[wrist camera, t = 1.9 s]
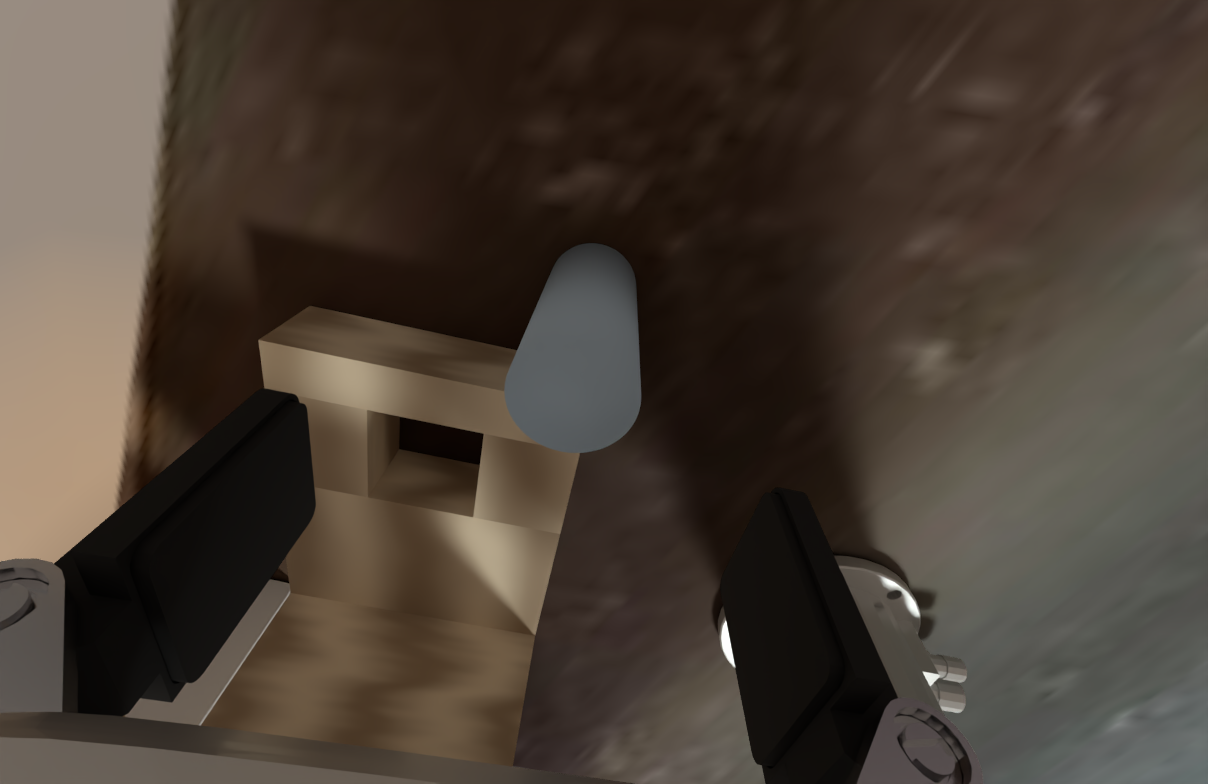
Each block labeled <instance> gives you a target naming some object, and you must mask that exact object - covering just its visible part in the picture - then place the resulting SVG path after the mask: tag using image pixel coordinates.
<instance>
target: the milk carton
mask: <svg viewBox="0 0 1208 784" xmlns="http://www.w3.org/2000/svg"><path fill="white" fill-rule="evenodd" d="M289 594H290V585H289V583H285V582H281V581H276V580H271V579H270V580H269V581H268V583H267V584H266V585H265V587H264V588H263V590H262V591H261V592H260V594H259V595H258V597H257V598H256V600H255V601H254V602H253V604H252V605H251V607H250V608H249V610H248V611H247V612H246V614H245V615H244V617H243V618H242V619H241V621H240V622H239V624H238V625H237V627H236V628H235V629H234V631H233V632H232V634H231V635H230V636H229V638H228V639H227V641H226V642H225V644H224V645H223V646H222V648H221V649H220V651H219V652H218V654H217V655H216V656H215V658H214V659H213V661H212V662H211V663H210V665H209V666H208V668H207V669H206V671H205V672H204V673H203V674H202V676H201V677H200V678H199V679H198V680H197V681H195V682H193V683H186V684H185V686H184V687H183V688H182V690H181V691H180V692H179V694H178V695H177V697H176V698H175V699H174V701H173V702H172V703H171V702H163V701H156V700H149V699H142V698H140V699H139V701H138V702H137V703H136V704H135V706H134V707H133V708H132V710H131V711H130V712H129V713H128V714H126V715H125V717H130V718H139V719H148V720H156V721H165V722H174V723H183V724H192V725H201V724H202V723H203V721H204V720H205V718H206V717H207V715H208V714H209V712H210V711H211V709H212V708H213V706H214V705H215V704H216V702H217V701H218V699H219V698H220V696H221V695H222V693H223V692H224V690H225V689H226V687H227V686H228V684H229V683H230V681H231V680H232V678H233V677H234V676H235V674H236V673H237V671H238V670H239V668H240V667H241V665H242V664H243V662H244V661H245V659H246V658H247V656H248V655H249V653H250V652H251V650H252V649H253V647H254V646H255V645H256V643H257V642H258V640H259V639H260V637H261V636H262V634H263V633H264V631H265V630H266V628H267V627H268V625H269V624H270V622H271V621H272V619H273V618H274V617H275V615H276V614H277V612H278V611H279V609H280V608H281V606H282V605H283V603H284V602H285V600H286V599H287V597H288V596H289Z"/></svg>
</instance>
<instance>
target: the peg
mask: <svg viewBox="0 0 1208 784" xmlns="http://www.w3.org/2000/svg"><path fill="white" fill-rule="evenodd" d="M504 393H505V401H506V405H507V408H508V411H509V413H510V415H511V417H512V419H513V421H514V422H515V423H516V425H517V426H518V427H519V428H520V429H521V430H522V431H523V433H525V434H526V435H527V436H528V437H529V438H531V439H532V440H534V441H535V442H537V443H539V444H541V445H543V446H545V447H548V448H550V449H553V450H557V451H561V452H568V453H586V452H591V451H596V450H599V449H602V448H605V447H607V446H609V445H611V444H613V443H615V442H616V441H618V440H619V439H620V438H622V437H623V436H624V435H625V434H626V433H627V432H628V431H629V429H630V428H631V427H632V426H633V424H634V422H635V420H636V418H637V416H638V413H639V410H640V405H641V379H640V357H639V335H638V313H637V291H636V279H635V274H634V272H633V269H632V267H631V265H630V264H629V262H628V261H627V259H626V258H625V257H624V256H623V255H622V254H620V253H619V252H618V251H616V250H615V249H613V248H611V247H609V246H606V245H603V244H597V243H586V244H581V245H577V246H575V247H573V248H571V249H569V250H567V251H566V252H565V253H563V254H562V255H561V256H560V257H559V259H558V260H557V261H556V263H555V265H554V266H553V268H552V271H551V273H550V275H549V278H548V280H547V282H546V285H545V287H544V289H543V292H542V294H541V296H540V299H539V301H538V303H537V306H536V308H535V310H534V313H533V315H532V317H531V320H530V322H529V324H528V327H527V329H526V331H525V333H524V336H523V338H522V340H521V343H520V345H519V347H518V350H517V352H516V354H515V357H514V359H513V361H512V364H511V366H510V368H509V371H508V373H507V376H506V381H505V389H504Z"/></svg>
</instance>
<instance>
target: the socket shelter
mask: <svg viewBox="0 0 1208 784" xmlns="http://www.w3.org/2000/svg"><path fill="white" fill-rule="evenodd" d="M258 341H259V349H260V357H261V365H262V373H263V380H264V388H266V389H271V390H276V391H281V392H287V393H292V394H295V395H297V397H298V399H299V403H303V404H305V405H306V407H307V412H308V423H309V434H310V445H311V455H312V466H313V477H314V488H315V499H316V508H315V512H314V515H313V517H312V520H311V521H310V523H309V524H308V526H307V527H306V529H305V530H304V531H303V533H302V534H301V536H300V537H299V539H298V540H297V541H296V543H295V544H294V546H293V547H292V549H291V550H290V551H289V553H288V554H287V556H286V561H287V569H288V577H289V585H290V594H289V596H288V597H287V599H286V600H285V602H284V603H283V605H282V606H281V608H280V609H279V611H278V612H277V614H276V615H275V617H274V618H273V619H272V621H271V622H270V624H269V625H268V627H267V628H266V630H265V631H264V633H263V634H262V636H261V637H260V639H259V640H258V642H257V643H256V645H255V646H254V647H253V649H252V650H251V652H250V653H249V655H248V656H247V658H246V659H245V661H244V662H243V664H242V665H241V667H240V668H239V670H238V671H237V673H236V674H235V676H234V677H233V678H232V680H231V681H230V683H229V684H228V686H227V687H226V689H225V690H224V692H223V693H222V695H221V696H220V698H219V699H218V701H217V702H216V704H215V705H214V706H213V708H212V709H211V711H210V712H209V714H208V715H207V717H206V718H205V720H204V721H203V723H202V724H201V726H209V727H218V728H227V729H234V730H242V731H249V732H257V733H265V734H272V735H280V736H288V737H295V738H303V739H310V740H318V741H326V742H333V743H341V744H349V745H356V746H364V747H371V748H379V749H387V750H394V751H401V752H409V753H416V754H423V755H431V756H438V757H445V758H453V759H460V760H468V761H475V762H482V763H490V764H497V765H504V766H511V767H512V766H513V761H514V755H515V749H516V743H517V737H518V732H519V726H520V720H521V714H522V708H523V702H524V697H525V691H526V685H527V679H528V673H529V668H530V662H531V656H532V650H533V644H534V639H535V634H536V630H537V626H538V621H539V617H540V613H541V609H542V605H543V601H544V597H545V593H546V589H547V585H548V581H549V577H550V573H551V569H552V565H553V561H554V557H555V553H556V548H557V544H558V540H559V536H560V532H561V528H562V524H563V520H564V516H565V512H566V508H567V504H568V500H569V496H570V492H571V488H572V484H573V479H574V475H575V471H576V467H577V463H578V459H579V455H580V453H568V452H561V451H557V450H553V449H550V448H548V447H545V446H543V445H541V444H539V443H537V442H535V441H534V440H532V439H531V438H529V437H528V436H527V435H526V434H525V433H523V431H522V430H521V429H520V428H519V427H518V426H517V425H516V423H515V422H514V421H513V419H512V417H511V415H510V413H509V411H508V408H507V405H506V401H505V393H504V389H505V381H506V376H507V373H508V371H509V368H510V366H511V364H512V361H513V359H514V357H515V354H516V352H517V350H513V349H509V348H504V347H499V346H495V345H490V344H486V343H481V342H476V341H472V340H467V339H462V338H458V337H453V336H448V335H444V334H439V333H435V332H430V331H425V330H421V329H416V328H411V327H407V326H402V325H397V324H393V323H388V322H384V321H379V320H374V319H370V318H365V317H360V316H356V315H351V314H347V313H342V312H337V311H333V310H328V309H323V308H319V307H314V306H309V307H307V308H306V309H304V310H303V311H301V312H300V313H298V314H297V315H295V316H294V317H292V318H291V319H289V320H288V321H286V322H285V323H283V324H282V325H280V326H279V327H277V328H276V329H274V330H273V331H271V332H270V333H268V334H267V335H265V336H264V337H262V338H261V339H259V340H258ZM400 417H404V418H409V419H414V420H419V421H424V422H429V423H434V424H439V425H444V426H449V427H454V428H458V429H463V430H468V431H473V432H478V433H483V434H484V437H483V445H482V453H481V460H480V465H477V464H472V463H467V462H462V461H457V460H452V459H447V458H442V457H437V456H432V455H427V454H422V453H416V452H411V451H406V450H401V449H399V435H400Z"/></svg>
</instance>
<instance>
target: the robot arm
mask: <svg viewBox="0 0 1208 784" xmlns="http://www.w3.org/2000/svg"><path fill="white" fill-rule="evenodd" d="M315 508H316V499H315V488H314V477H313V466H312V455H311V445H310V434H309V423H308V412H307V407H306V405H305V404H303V403H299V399H298V397H297V395H295V394H292V393H287V392H281V391H276V390H271V389H266V388H264V389H260V390H258V391H257V392H255V393H254V394H253V395H252V396H251V397H249V398H248V399H247V400H246V401H245V402H244V403H242V404H241V405H240V406H239V407H238V408H237V409H235V410H234V411H233V412H232V413H231V414H230V415H228V416H227V417H226V418H225V419H224V420H222V421H221V422H220V423H219V424H218V425H217V426H215V427H214V428H213V429H212V430H211V431H210V432H208V433H207V434H206V435H205V436H204V437H203V438H201V439H200V440H199V441H198V442H197V443H195V444H194V445H193V446H192V447H191V448H190V449H188V450H187V451H186V452H185V453H184V454H182V455H181V456H180V457H179V458H178V459H176V460H175V461H174V462H173V463H172V464H171V465H169V466H168V467H167V468H166V469H165V470H164V471H162V472H161V473H160V474H159V475H158V476H156V477H155V478H154V479H153V480H152V481H151V482H149V483H148V484H147V485H146V486H145V487H144V488H142V489H141V490H140V491H139V492H138V493H137V494H135V495H134V496H133V497H132V498H131V499H129V500H128V501H127V502H126V503H125V504H124V505H122V506H121V507H120V508H119V509H118V510H117V511H115V512H114V513H113V514H112V515H111V516H109V517H108V518H107V519H106V520H105V521H104V522H102V523H101V524H100V525H99V526H98V527H97V528H95V529H94V530H93V531H92V532H91V533H90V534H88V535H87V536H86V537H85V538H84V539H82V540H81V541H80V542H79V543H78V544H77V545H76V546H74V547H73V548H72V549H71V550H70V551H68V552H67V553H66V554H65V555H64V556H63V557H61V558H60V559H59V560H58V561H57V562H55V563H54V564H53V563H52V562H48V561H43V560H39V559H12V560H7V561H1V562H0V784H633V783H626V782H619V781H612V780H605V779H598V778H591V777H584V776H577V775H570V774H562V773H555V772H548V771H540V770H533V769H526V768H519V767H511V766H504V765H497V764H490V763H482V762H475V761H468V760H460V759H453V758H445V757H438V756H431V755H423V754H416V753H409V752H401V751H394V750H387V749H379V748H371V747H364V746H356V745H349V744H341V743H333V742H326V741H318V740H310V739H303V738H295V737H288V736H280V735H272V734H265V733H257V732H249V731H242V730H234V729H227V728H218V727H209V726H201V725H192V724H183V723H174V722H165V721H156V720H148V719H139V718H130V717H125V715H126V714H128V713H129V712H130V711H131V710H132V708H133V707H134V706H135V704H136V703H137V702H138V701H139V699H140V698H142V699H149V700H156V701H163V702H171V703H172V702H173V701H174V699H175V698H176V697H177V695H178V694H179V692H180V691H181V690H182V688H183V687H184V686H185V684H186V683H193V682H195V681H197V680H198V679H199V678H200V677H201V676H202V674H203V673H204V672H205V671H206V669H207V668H208V666H209V665H210V663H211V662H212V661H213V659H214V658H215V656H216V655H217V654H218V652H219V651H220V649H221V648H222V646H223V645H224V644H225V642H226V641H227V639H228V638H229V636H230V635H231V634H232V632H233V631H234V629H235V628H236V627H237V625H238V624H239V622H240V621H241V619H242V618H243V617H244V615H245V614H246V612H247V611H248V610H249V608H250V607H251V605H252V604H253V602H254V601H255V600H256V598H257V597H258V595H259V594H260V592H261V591H262V590H263V588H264V587H265V585H266V584H267V583H268V581H269V580H270V578H271V577H272V575H273V574H274V573H275V571H276V570H277V568H278V567H279V566H280V564H281V563H282V561H283V560H284V558H285V557H286V556H287V554H288V553H289V551H290V550H291V549H292V547H293V546H294V544H295V543H296V541H297V540H298V539H299V537H300V536H301V534H302V533H303V531H304V530H305V529H306V527H307V526H308V524H309V523H310V521H311V520H312V517H313V515H314V512H315ZM720 591H721V597H722V602H723V607H722V608H721V611H720V615H719V618H718V635H719V640H720V645H721V649H722V651H723V653H724V655H725V657H726V659H727V660H728V661H729V662H730V664H731V665H732V666H733V667H734V668H735V669H736V674H737V679H738V684H739V689H740V695H741V700H742V705H743V710H744V715H745V720H746V725H747V731H748V736H749V741H750V746H751V751H752V755H753V758H754V760H755V762H756V763H757V764H759V765H762V768H763V773H764V778H765V783H766V784H983V772H982V769H981V766H980V763H979V761H978V758H977V755H976V754H975V752H974V750H973V749H972V747H971V745H970V744H969V742H968V740H967V739H966V738H965V736H964V735H963V734H962V733H961V732H960V730H959V729H958V728H957V727H956V726H955V725H954V724H953V723H952V722H951V721H950V720H949V719H948V718H946V717H945V715H944V713H943V711H942V710H944V711H950V712H956V713H960V712H961V711H963V710H964V707H965V704H966V698H965V693H964V690H963V688H962V686H961V685H960V684H959V683H958V682H960V683H961V682H963V681H965V679H966V677H967V669H966V666H965V664H964V662H963V661H962V660H961V659H958V658H955V657H949V656H944V655H932V654H930V653H929V652H928V651H927V650H926V649H925V647H924V645H923V643H922V641H921V640H920V638H919V636H918V632H919V629H920V625H921V613H920V609H919V607H918V604H917V601H916V599H915V598H914V596H913V594H912V593H911V591H910V589H909V588H908V586H907V584H906V583H905V582H904V581H903V580H902V579H901V578H900V577H899V576H898V575H897V574H895V573H894V572H892V571H890V570H889V569H887V568H886V567H884V566H882V565H879V564H876V563H874V562H871V561H868V560H865V559H860V558H855V557H849V556H835V555H833V552H832V550H831V548H830V546H829V544H828V541H827V539H826V537H825V535H824V532H823V530H822V528H821V526H820V523H819V521H818V519H817V517H816V515H815V512H814V510H813V508H812V506H811V503H810V501H809V499H808V497H807V495H806V494H805V493H803V492H799V491H794V490H789V489H784V488H775V489H774V490H773V491H772V492H771V493H765V494H764V495H763V496H762V498H761V500H760V502H759V504H758V506H757V508H756V510H755V512H754V514H753V516H752V518H751V520H750V522H749V524H748V526H747V528H746V530H745V532H744V534H743V536H742V538H741V540H740V541H739V543H738V545H737V547H736V549H735V551H734V553H733V555H732V557H731V559H730V561H729V563H728V565H727V567H726V569H725V571H724V573H723V575H722V578H721V584H720Z"/></svg>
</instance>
